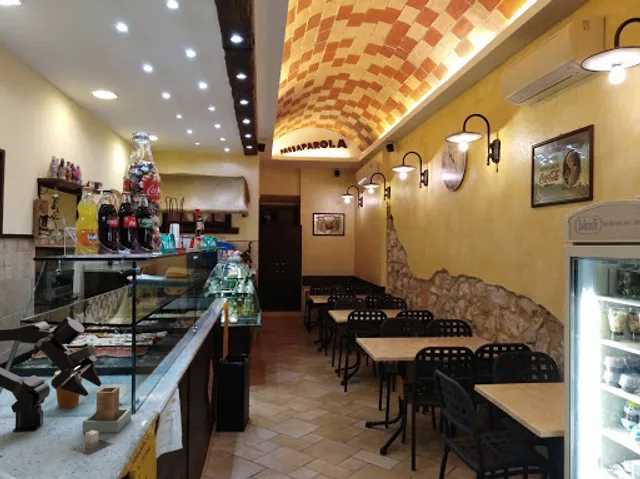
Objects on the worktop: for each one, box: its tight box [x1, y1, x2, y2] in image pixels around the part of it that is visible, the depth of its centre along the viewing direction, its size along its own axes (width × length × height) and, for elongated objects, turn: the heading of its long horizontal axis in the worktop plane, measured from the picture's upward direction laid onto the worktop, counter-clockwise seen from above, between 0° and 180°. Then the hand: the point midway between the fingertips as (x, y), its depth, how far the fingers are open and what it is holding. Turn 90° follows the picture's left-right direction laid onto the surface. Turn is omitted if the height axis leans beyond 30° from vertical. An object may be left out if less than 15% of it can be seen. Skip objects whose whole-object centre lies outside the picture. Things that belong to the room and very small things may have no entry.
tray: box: [82, 408, 132, 434], centre depth 146 cm, size 11×11×4 cm
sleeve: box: [95, 386, 120, 421], centre depth 146 cm, size 5×5×11 cm
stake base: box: [69, 430, 114, 456], centre depth 132 cm, size 8×8×5 cm
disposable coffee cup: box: [52, 369, 83, 410], centre depth 164 cm, size 10×10×12 cm
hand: (94, 390), depth 146 cm, fingers open, 9 cm apart
